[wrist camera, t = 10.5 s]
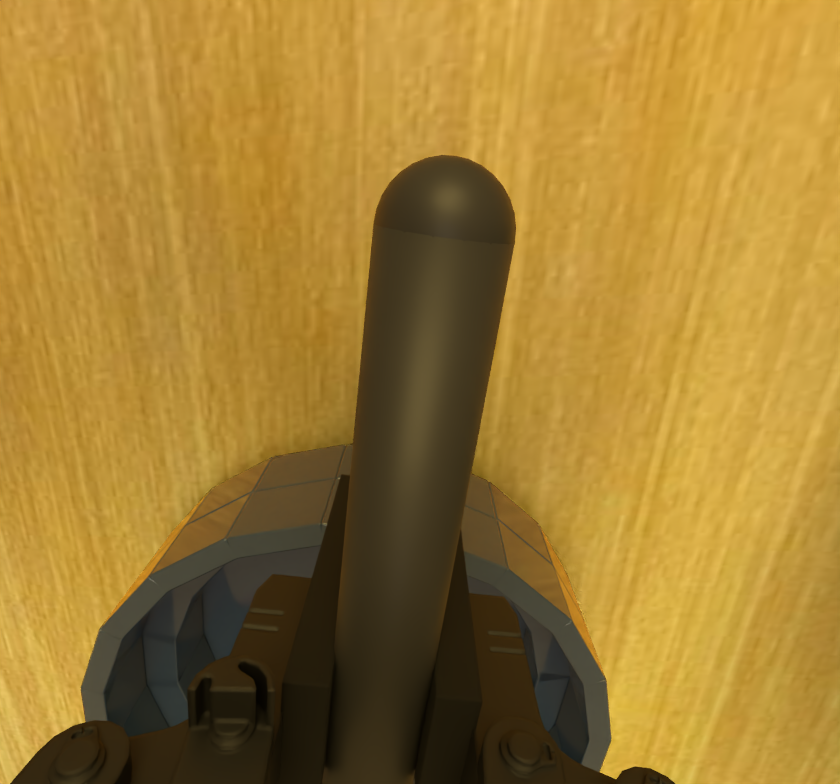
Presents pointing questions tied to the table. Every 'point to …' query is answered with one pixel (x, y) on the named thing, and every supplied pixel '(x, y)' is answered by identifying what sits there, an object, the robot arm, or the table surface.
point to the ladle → (413, 452)
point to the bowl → (296, 556)
